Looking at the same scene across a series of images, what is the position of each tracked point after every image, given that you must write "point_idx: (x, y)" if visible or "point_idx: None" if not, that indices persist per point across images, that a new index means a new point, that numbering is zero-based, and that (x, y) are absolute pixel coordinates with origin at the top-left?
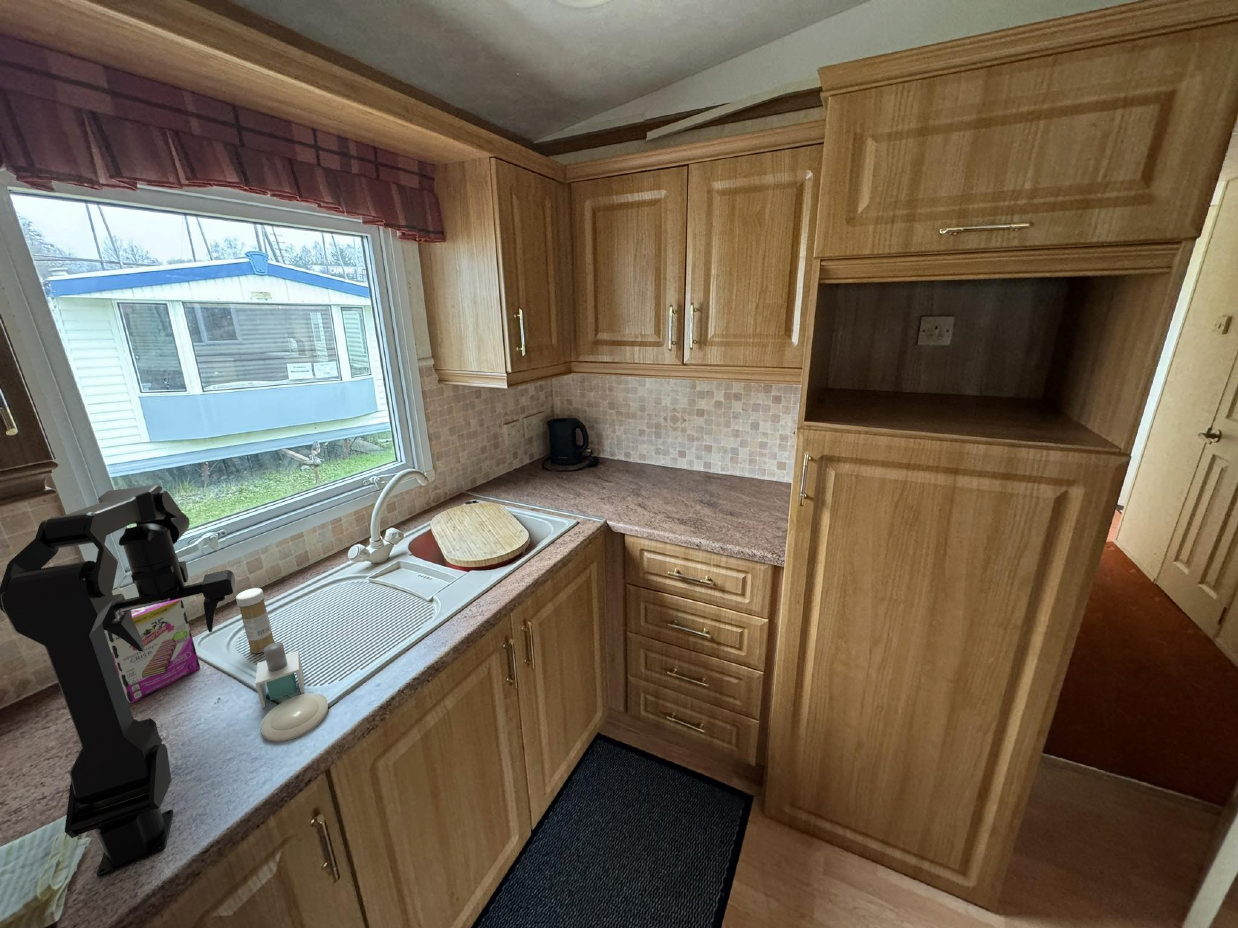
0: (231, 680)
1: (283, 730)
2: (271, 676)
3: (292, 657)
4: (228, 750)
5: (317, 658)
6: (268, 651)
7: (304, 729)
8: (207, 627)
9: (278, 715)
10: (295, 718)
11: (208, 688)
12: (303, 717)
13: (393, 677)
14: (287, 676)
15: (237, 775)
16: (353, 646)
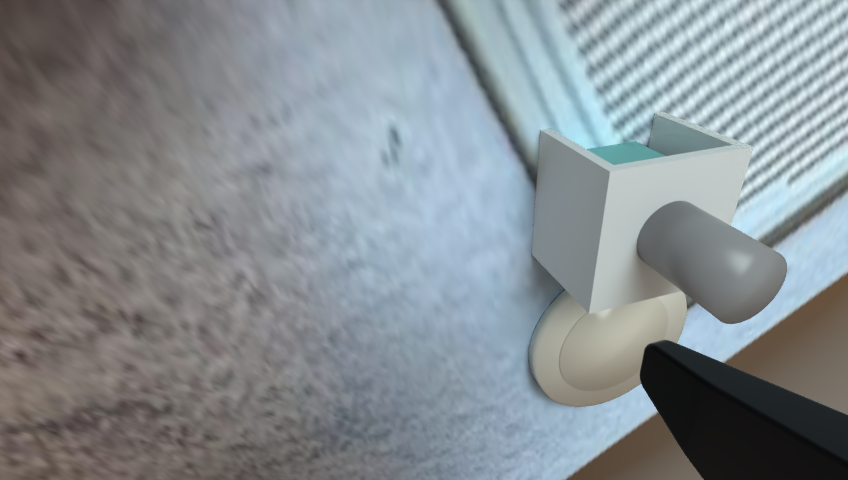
0: (422, 4)
1: (582, 391)
2: (637, 291)
3: (721, 192)
4: (457, 392)
5: (725, 26)
6: (726, 317)
7: (618, 394)
8: (682, 449)
9: (579, 340)
10: (612, 362)
11: (329, 19)
12: (627, 364)
13: (819, 258)
14: None
15: (482, 459)
16: (838, 10)
